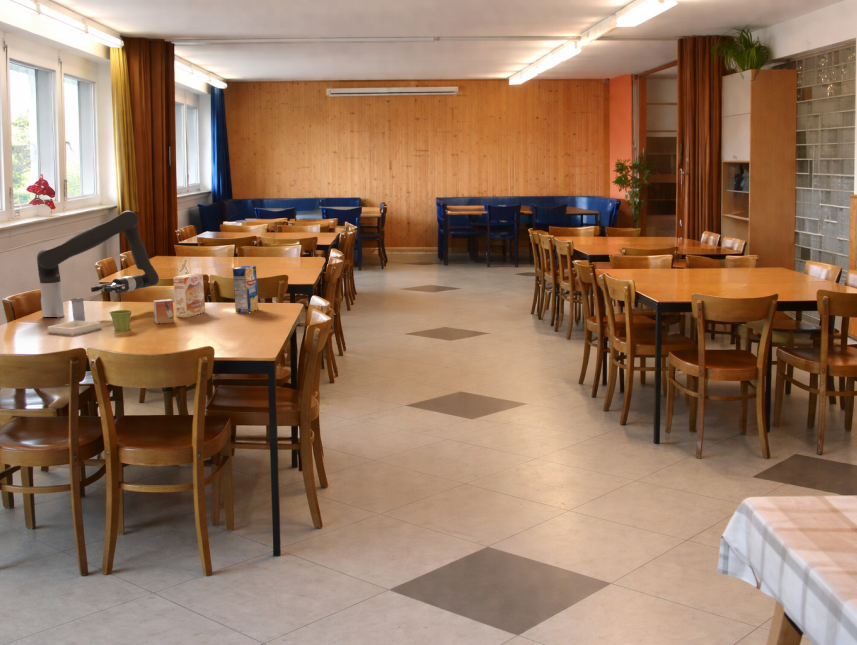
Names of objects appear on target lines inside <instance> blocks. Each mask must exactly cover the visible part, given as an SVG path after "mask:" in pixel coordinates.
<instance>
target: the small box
mask: <svg viewBox="0 0 857 645" xmlns="http://www.w3.org/2000/svg"><path fill="white" fill-rule="evenodd" d="M153 312H154V313H153V314H154V323H156V325H160V324H169V323H170V324H172V322H174V323H175V313H174V312H175V311H174V301H173V300H172V299H171V298H167V299H158V300H154V299H153ZM159 323H160V324H159Z"/></svg>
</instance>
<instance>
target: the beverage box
mask: <svg viewBox="0 0 857 645" xmlns="http://www.w3.org/2000/svg"><path fill="white" fill-rule="evenodd" d="M232 276H233V289H234V290H233V291H234V305H235V307H234V308H235V313H236V312H237V313H236V314H250V313H249V312H251V311H253V312H255V311H254V310H256V309H258V310H259V299H258V298H259V296H258V294H259V293H258V278H257V266H256V265H242V266H238V267H234V268H232ZM256 311H257V310H256ZM251 313H252V312H251Z"/></svg>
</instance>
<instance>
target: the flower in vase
mask: <svg viewBox="0 0 857 645" xmlns="http://www.w3.org/2000/svg"><path fill="white" fill-rule="evenodd" d="M186 264H187V258H184V259H183V260H182V261H181V263H180V266H178V268H179V269H178V270H177V272H178V273H181V272H183V270H184V269H185V270H186V271H185V273H184V275H187V274H190V273H189V271H188V268H187V267H186Z"/></svg>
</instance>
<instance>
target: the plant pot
mask: <svg viewBox="0 0 857 645" xmlns="http://www.w3.org/2000/svg"><path fill="white" fill-rule="evenodd" d="M132 312H133V311H132V310H131V309H129V310H128V309H121V310H113V311H109V314H110V317H111V319H112V324H113V329H114V331H115V332H126V331H129V330H130V326H131V316H132Z"/></svg>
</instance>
